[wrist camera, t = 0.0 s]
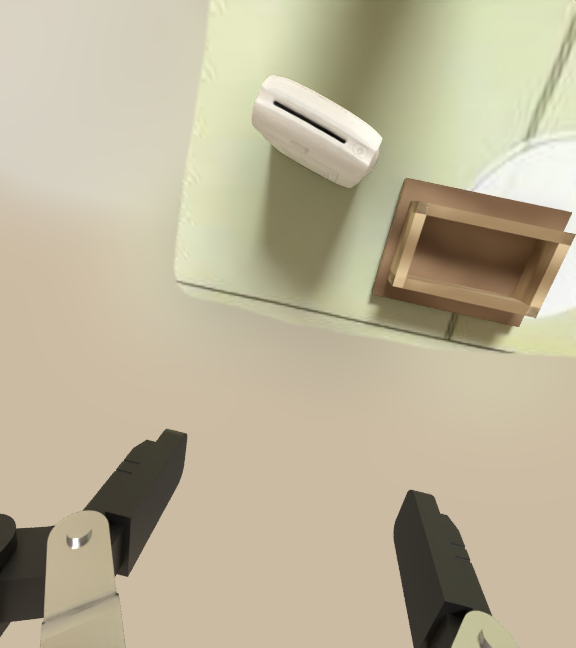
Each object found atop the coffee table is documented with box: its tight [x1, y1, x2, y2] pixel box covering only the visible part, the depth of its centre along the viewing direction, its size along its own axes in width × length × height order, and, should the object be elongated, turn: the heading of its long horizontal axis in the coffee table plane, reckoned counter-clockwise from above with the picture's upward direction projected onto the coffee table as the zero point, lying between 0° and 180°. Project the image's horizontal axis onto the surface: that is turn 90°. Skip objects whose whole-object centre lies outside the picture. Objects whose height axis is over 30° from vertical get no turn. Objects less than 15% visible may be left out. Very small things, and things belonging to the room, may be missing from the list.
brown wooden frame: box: [372, 178, 576, 327], centre depth 35 cm, size 12×16×5 cm
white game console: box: [252, 75, 382, 188], centre depth 29 cm, size 10×4×12 cm, turn 62°
